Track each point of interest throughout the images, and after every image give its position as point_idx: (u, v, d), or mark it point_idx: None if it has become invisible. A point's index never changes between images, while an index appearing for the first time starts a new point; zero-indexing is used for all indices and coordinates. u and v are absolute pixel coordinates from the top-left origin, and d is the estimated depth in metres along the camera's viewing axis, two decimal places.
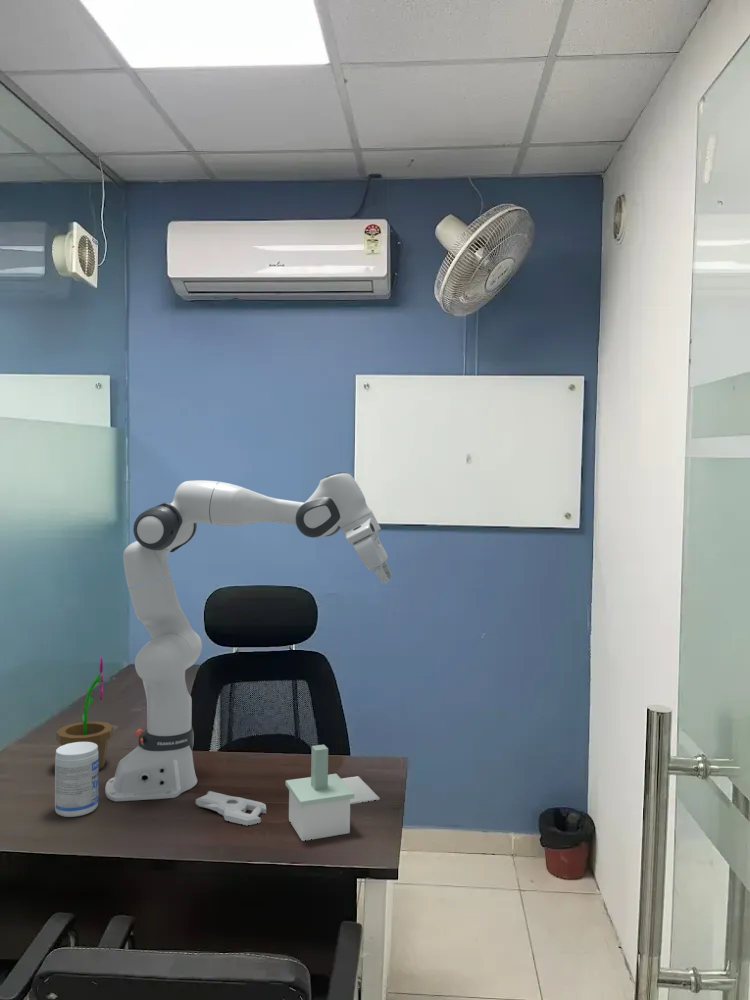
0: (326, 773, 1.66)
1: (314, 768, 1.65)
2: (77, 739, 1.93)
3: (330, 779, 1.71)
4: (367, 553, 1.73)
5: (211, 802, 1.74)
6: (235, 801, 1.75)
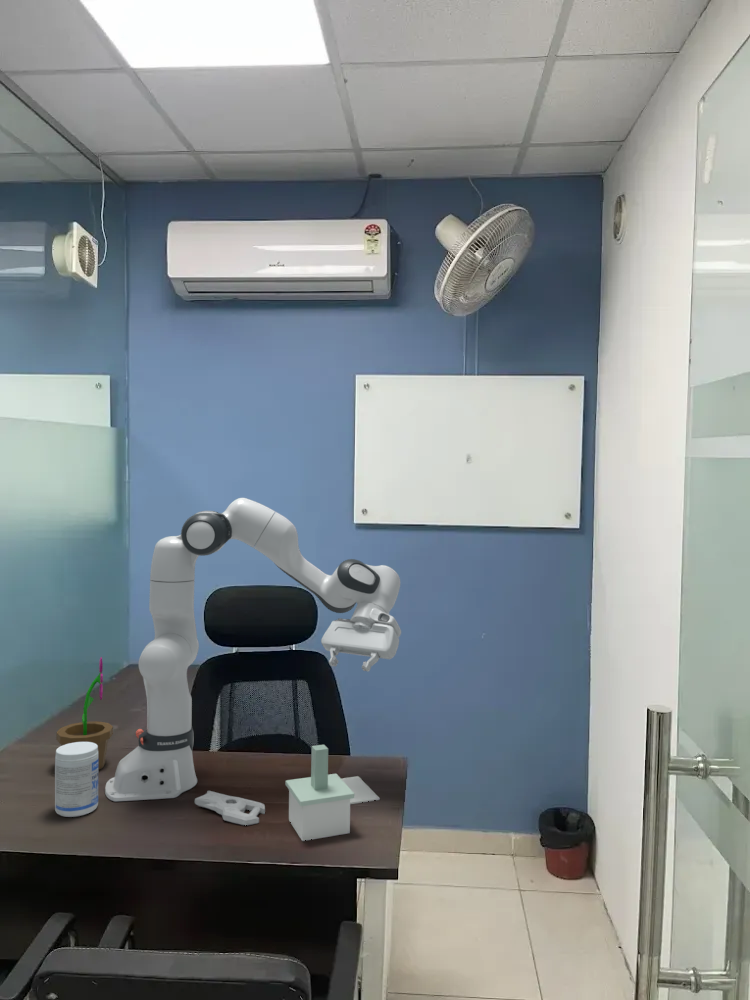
0: (326, 773, 1.66)
1: (314, 768, 1.65)
2: (77, 739, 1.93)
3: (330, 779, 1.71)
4: (395, 643, 1.80)
5: (210, 802, 1.74)
6: (234, 801, 1.75)
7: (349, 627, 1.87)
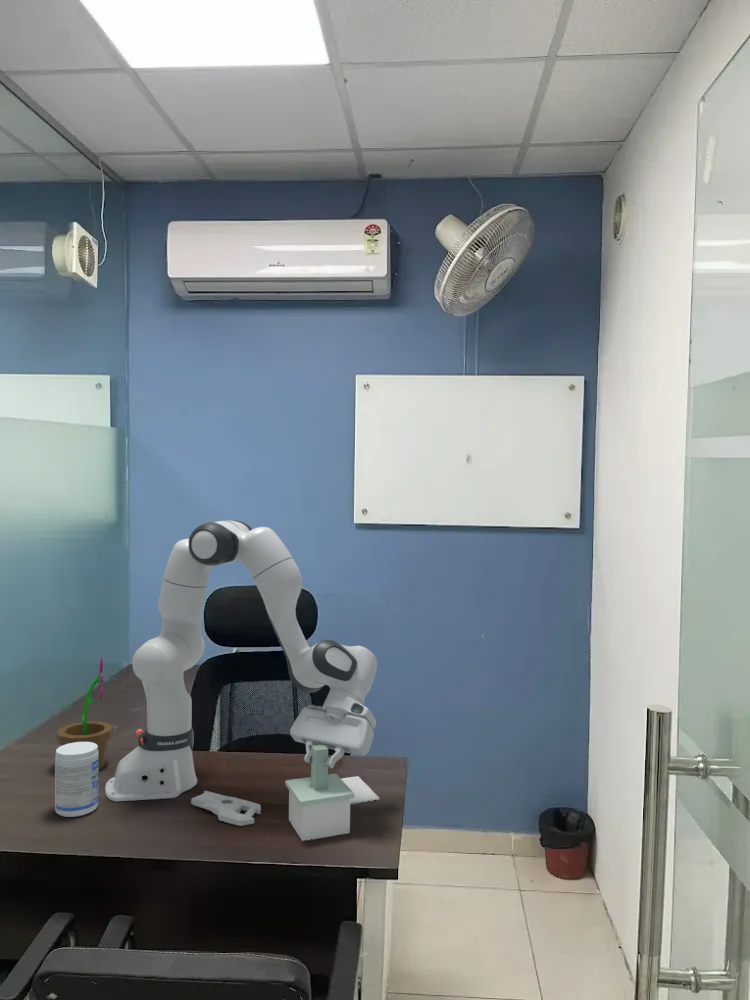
0: (326, 773, 1.66)
1: (314, 768, 1.65)
2: (77, 739, 1.93)
3: (330, 779, 1.71)
4: (369, 737, 1.66)
5: (206, 802, 1.74)
6: (230, 801, 1.75)
7: (320, 717, 1.73)
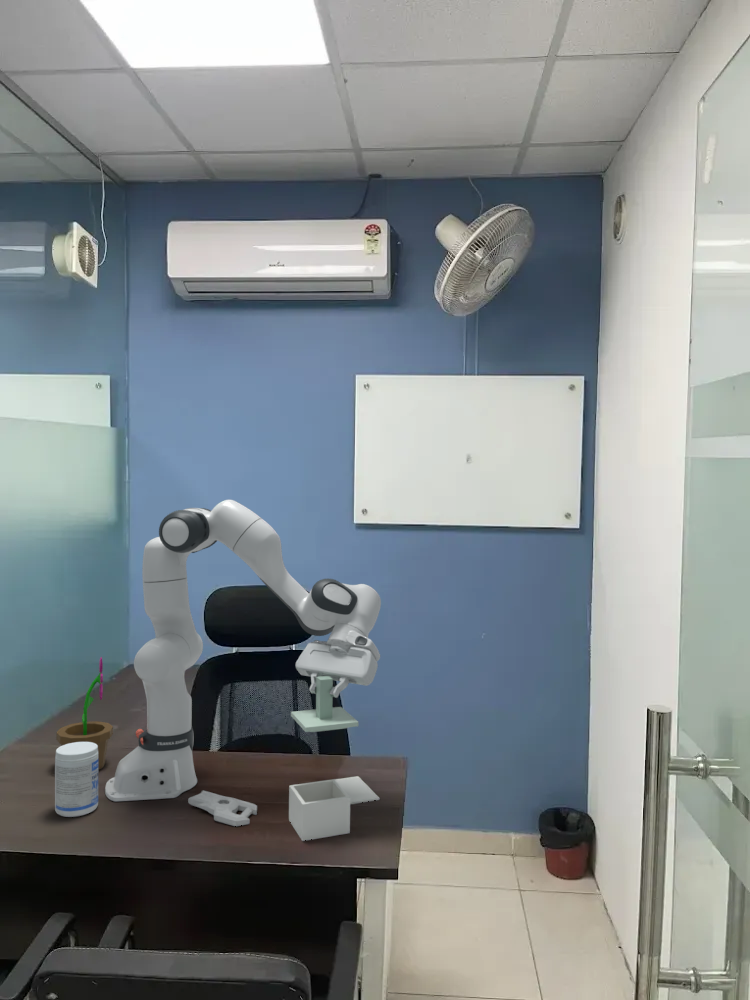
0: (331, 703, 1.69)
1: (319, 698, 1.68)
2: (77, 739, 1.93)
3: (335, 711, 1.74)
4: (373, 668, 1.69)
5: (203, 801, 1.74)
6: (227, 801, 1.75)
7: (325, 650, 1.76)
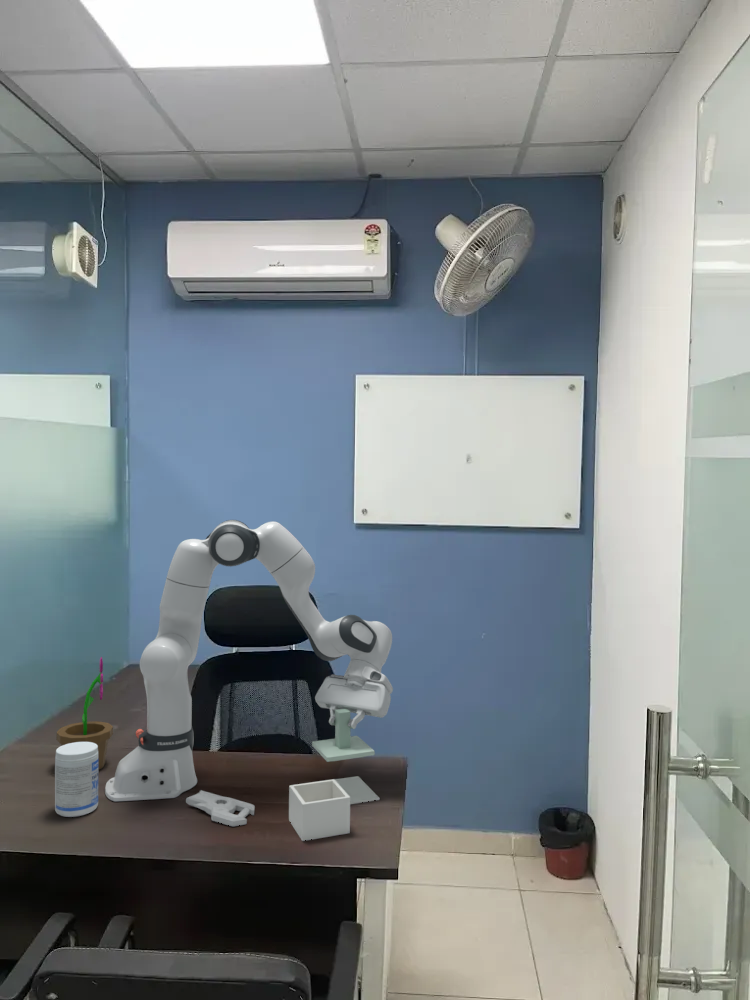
0: (349, 733, 1.85)
1: (338, 729, 1.84)
2: (77, 739, 1.93)
3: (352, 740, 1.90)
4: (387, 701, 1.85)
5: (200, 801, 1.74)
6: (224, 801, 1.75)
7: (342, 684, 1.92)
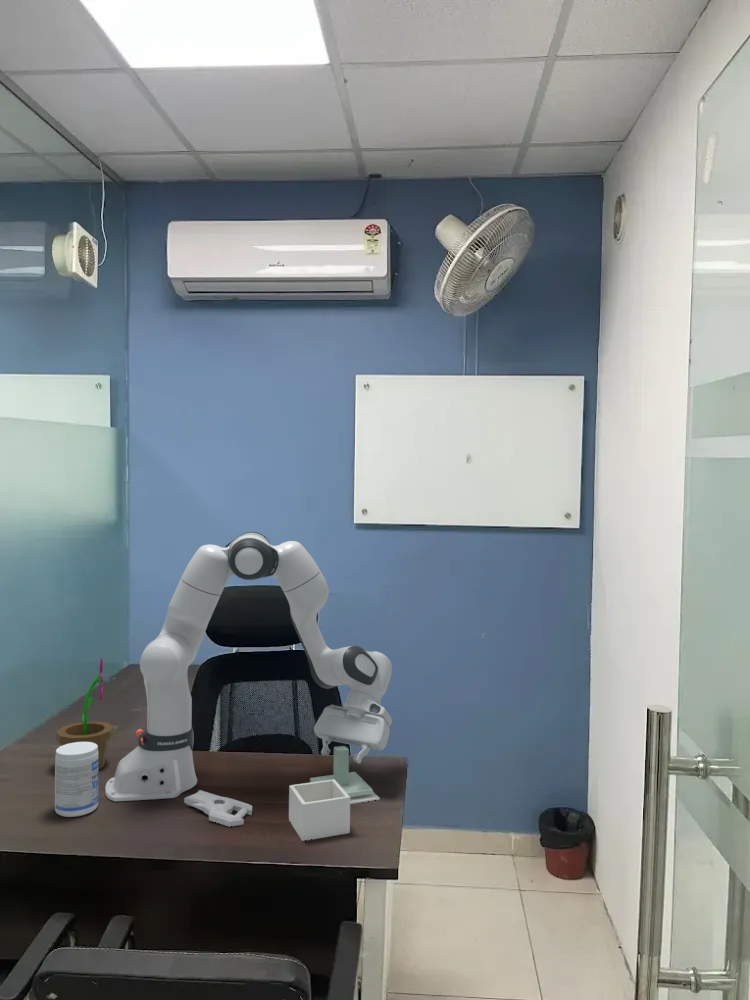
0: (347, 771, 1.85)
1: (336, 767, 1.84)
2: (77, 739, 1.93)
3: (350, 777, 1.90)
4: (386, 734, 1.85)
5: (198, 801, 1.74)
6: (222, 801, 1.75)
7: (341, 716, 1.92)
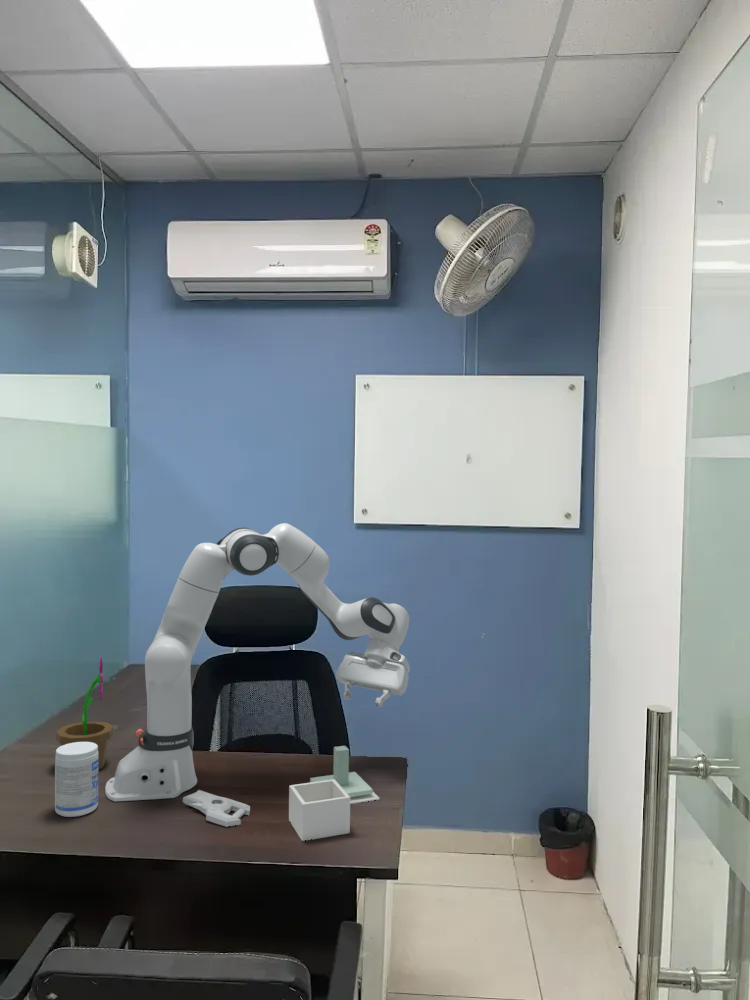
0: (347, 771, 1.85)
1: (336, 767, 1.84)
2: (77, 739, 1.93)
3: (350, 777, 1.90)
4: (405, 681, 1.97)
5: (197, 801, 1.74)
6: (221, 801, 1.75)
7: (362, 662, 2.03)
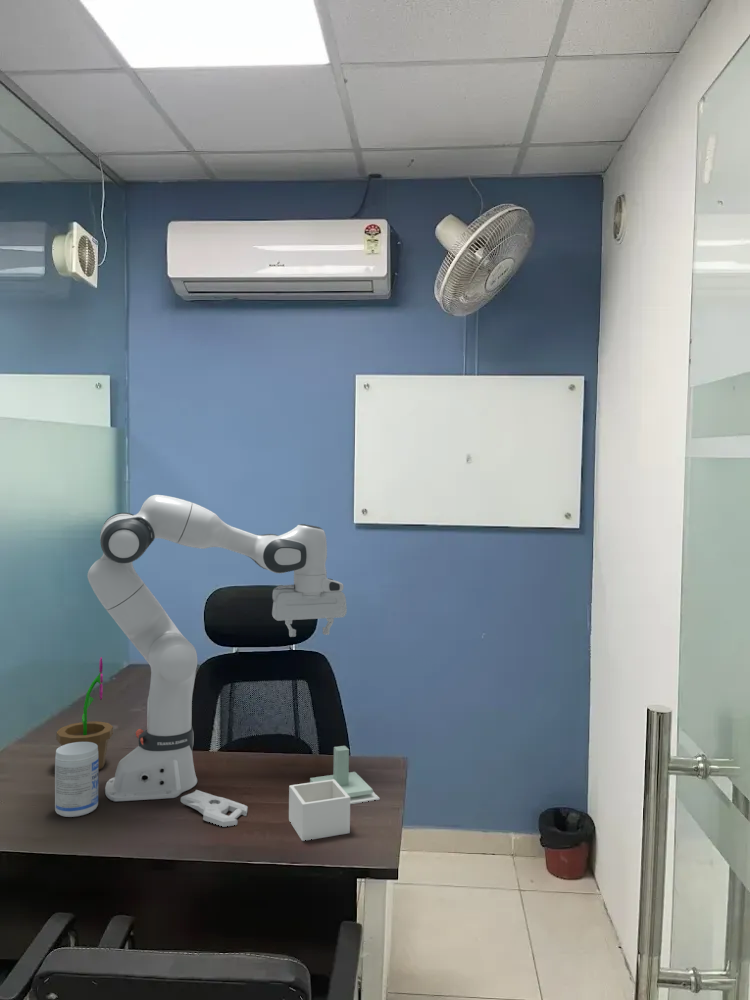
0: (347, 771, 1.85)
1: (336, 767, 1.84)
2: (77, 739, 1.93)
3: (350, 777, 1.90)
4: None
5: (194, 801, 1.74)
6: (218, 801, 1.75)
7: (299, 598, 1.96)
